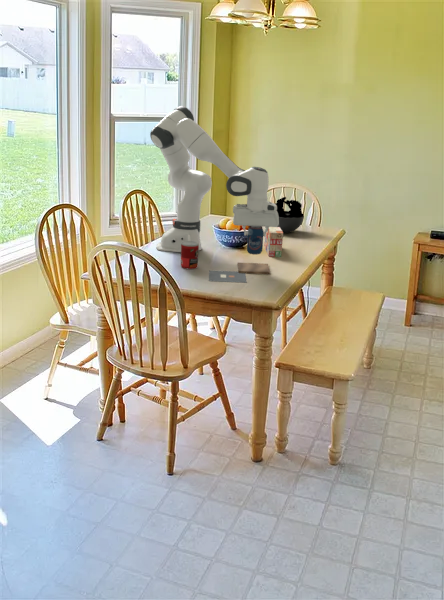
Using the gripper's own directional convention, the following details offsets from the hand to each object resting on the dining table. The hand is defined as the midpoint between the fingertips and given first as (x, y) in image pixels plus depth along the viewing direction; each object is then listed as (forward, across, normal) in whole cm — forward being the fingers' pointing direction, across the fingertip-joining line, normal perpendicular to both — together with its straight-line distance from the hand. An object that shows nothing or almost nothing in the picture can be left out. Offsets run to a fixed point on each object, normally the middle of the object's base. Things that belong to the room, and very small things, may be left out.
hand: (254, 235), depth 303 cm
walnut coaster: (+16, 0, 0) cm, 16 cm away
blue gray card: (+16, -12, -13) cm, 23 cm away
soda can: (+8, 0, 0) cm, 8 cm away
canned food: (+16, -29, 0) cm, 33 cm away
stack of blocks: (+16, +12, +35) cm, 40 cm away
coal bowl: (+16, +22, +79) cm, 84 cm away
